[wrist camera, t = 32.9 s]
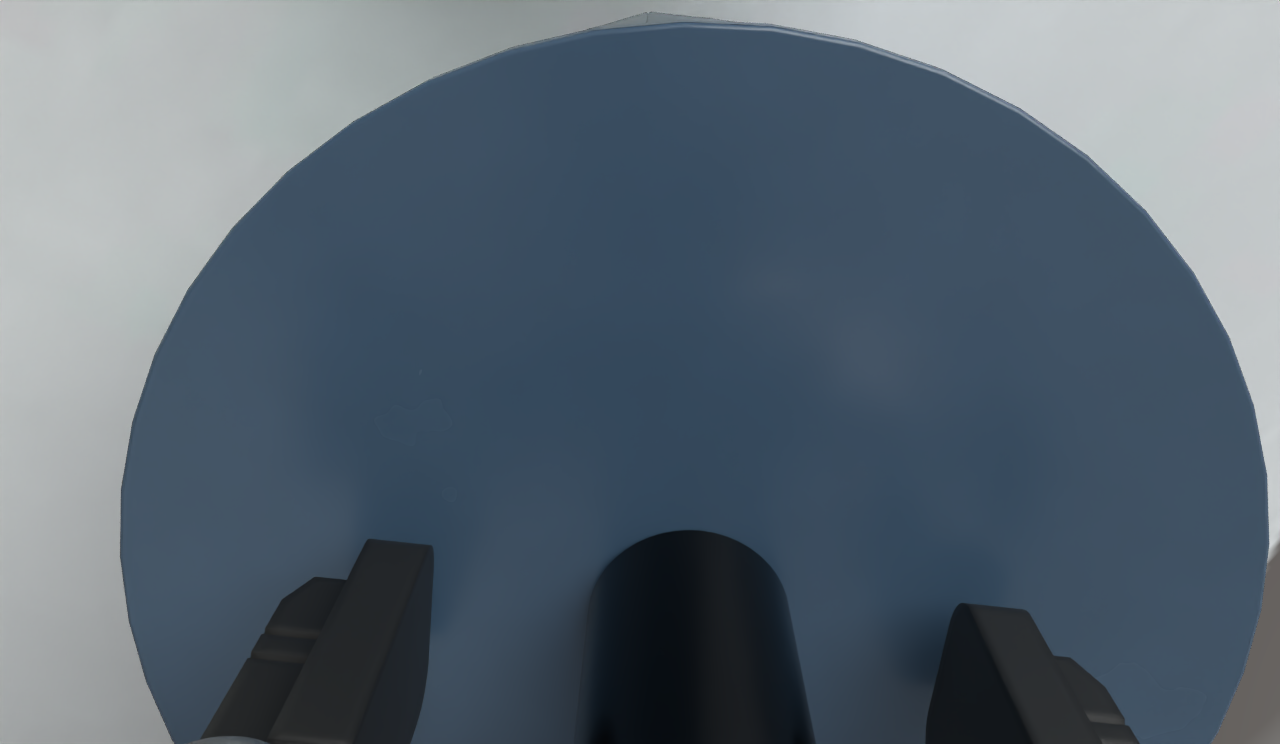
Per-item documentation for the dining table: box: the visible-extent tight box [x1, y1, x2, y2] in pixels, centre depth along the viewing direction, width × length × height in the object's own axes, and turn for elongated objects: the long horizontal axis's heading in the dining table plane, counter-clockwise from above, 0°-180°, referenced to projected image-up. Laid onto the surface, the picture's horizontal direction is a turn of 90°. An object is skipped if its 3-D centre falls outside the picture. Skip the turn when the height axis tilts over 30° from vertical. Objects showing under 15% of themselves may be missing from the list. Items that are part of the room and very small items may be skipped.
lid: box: [120, 20, 1269, 744], centre depth 12 cm, size 14×14×6 cm
